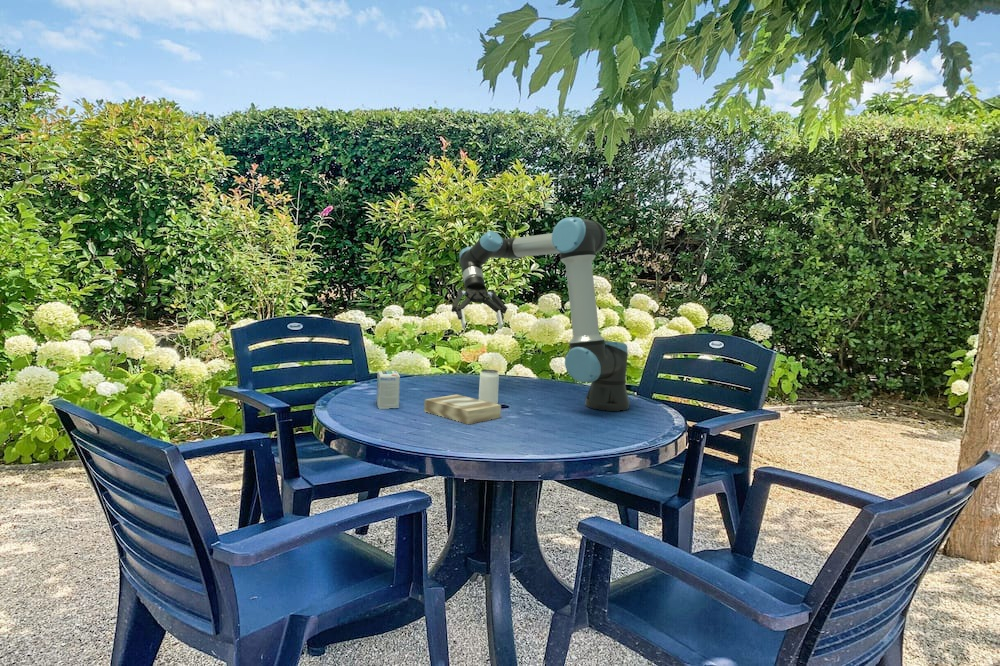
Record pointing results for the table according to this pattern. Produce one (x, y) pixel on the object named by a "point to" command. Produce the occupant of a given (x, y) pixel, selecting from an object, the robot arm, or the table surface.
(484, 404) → the block
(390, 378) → the light bulb box
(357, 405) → the table surface
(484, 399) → the can
